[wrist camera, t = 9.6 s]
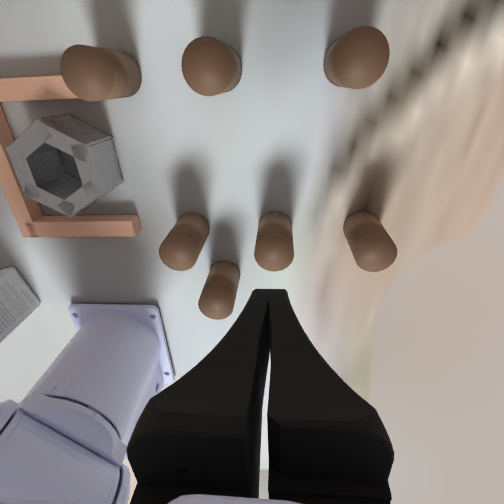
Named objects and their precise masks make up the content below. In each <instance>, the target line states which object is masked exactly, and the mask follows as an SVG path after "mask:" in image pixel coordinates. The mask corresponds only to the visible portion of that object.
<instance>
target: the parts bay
mask: <svg viewBox="0 0 504 504" xmlns="http://www.w3.org/2000/svg"><path fill="white" fill-rule="evenodd" d="M72 98H78V97H77V96H75V95H74V94H73V93H72V92H71V91H70V90H69V88H68V87H67V86H66V84H65V82H64V80H63V77H62V75H58V76H40V77H22V78H3V79H0V102H10V101H30V100H51V99H72ZM13 142H14V138H13V136H12V133H11V131H10V128H9V125H8V123H7V120H6V118H5V115H4V112H3V110H2V107H1V105H0V184H1V186H2V189H3V191H4V193H5V196H6V198H7V200H8V203H9V205H10V207H11V209H12V212H13V214H14V216H15V219H16V221H17V223H18V226H19V228H20V230H21V232H22V235H23V237H135V236H136V235H137V234H138V233H139V232H140V231H141V226H140V221H139V217H138V215H76V216H74V217H73V218H71V217H70V218H69V217H68V216H67V215H64V216H43V213H42V211H41V208H40V206H39V203H38V202H37V201H34V200H32V199H30V198H26V197H25V196H24V192H23V189H22V187H21V184H20V182H19V179H18V177H17V174H16V172H15V169H14V167H13V164H12V162H11V159H10V157H9V154H8V152H7V151H6V150H5V149H6V147H7V146H10V145H11V144H12V143H13Z"/></svg>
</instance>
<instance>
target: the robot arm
mask: <svg viewBox="0 0 504 504" xmlns="http://www.w3.org/2000/svg"><path fill="white" fill-rule="evenodd" d="M68 311H69V313H70V315H71V318H72V320H73V323H74V325H75V328H76V330H77V333H76V334H75V335H74V337H73V338H72V339H71V340H70V342H69V343H68V344H67V345H66V347H65V348H64V349H63V350H62V352H61V353H60V354H59V355H58V357H57V358H56V359H55V360H54V362H53V363H52V364H51V365H50V367H49V368H48V369H47V370H46V372H45V373H44V374H43V375H42V376H41V378H40V379H39V380H38V381H37V383H36V384H35V385H34V386H33V388H32V389H31V390H30V391H29V393H28V394H27V395H26V396H25V398H24V399H23V400H22V401H21V402H20V403H19V404H18V403H16V402H14V401H13V400H10V399H9V400H7V401H5V402H1V403H0V504H127V503H128V499H129V493H130V472H129V469H128V468H127V466H125V465H124V464H122V463H123V461H124V460H126V459H127V458H128V460H129V462H130V465H131V467H132V470H133V472H134V474H135V477H136V479H137V485H136V488H135V491H134V494H133V496H132V499H131V502H130V504H390V501H391V499H392V498H391V492H390V488H389V484H388V478H389V474H390V471H391V468H392V464H393V461H394V451H393V447H392V444H391V441H390V438H389V436H388V434H387V431H386V429H385V427H384V425H383V423H382V421H381V419H380V417H379V415H378V413H377V411H376V410H375V408H374V407H372V406H371V405H370V404H369V403H368V402H366V401H365V400H364V399H363V398H361V397H360V396H359V395H358V394H357V393H356V392H354V391H353V390H352V389H351V388H350V387H349V386H348V385H347V384H346V383H345V382H344V381H343V380H342V379H341V378H340V377H339V376H338V375H337V373H336V372H335V371H334V370H333V369H332V368H331V367H330V366H329V365H328V364H327V362H326V361H325V360H324V359H323V358H322V356H321V355H320V354H319V352H318V351H317V350H316V348H315V347H314V346H313V344H312V343H311V341H310V340H309V338H308V337H307V335H306V333H305V332H304V330H303V328H302V326H301V325H300V323H299V321H298V319H297V317H296V315H295V313H294V311H293V308H292V306H291V303H290V301H289V298H288V293H287V291H286V290H285V289H255V290H253V291H252V294H251V296H250V298H249V300H248V302H247V304H246V306H245V307H244V309H243V311H242V312H241V314H240V315H239V317H238V318H237V320H236V321H235V323H234V324H233V326H232V327H231V328H230V330H229V331H228V332H227V334H226V335H225V336H224V337H223V338H222V340H221V341H220V342H219V343H218V344H217V345H216V346H215V347H214V349H213V350H212V351H211V352H210V353H209V354H208V355H207V356H206V357H205V358H204V359H203V360H201V361H200V362H199V363H198V364H197V365H196V366H195V367H194V368H192V369H191V370H190V371H189V372H187V373H186V374H185V375H184V376H182V377H181V378H180V379H179V380H177V381H176V382H175V383H173V382H174V380H175V377H174V373H173V369H172V364H171V360H170V356H169V352H168V347H167V343H166V339H165V335H164V330H163V326H162V322H161V318H160V313H159V309H158V308H157V307H156V306H154V305H125V304H71V305H70V306H69V308H68ZM152 314H153V315H155V316H153V315H152ZM269 353H270V356H271V372H270V387H269V400H268V412H267V421H268V449H269V477H268V492H269V499H259V473H260V447H261V424H262V406H263V396H264V389H265V382H266V375H267V368H268V360H269ZM172 383H173V384H172ZM163 384H172V385H170V386H169V387H167V388H166V389H164V390H163V391H161V389H162V387H163Z"/></svg>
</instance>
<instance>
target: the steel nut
mask: <svg viewBox="0 0 504 504" xmlns="http://www.w3.org/2000/svg"><path fill="white" fill-rule="evenodd" d="M58 149H59V150H61V151H63V152H65V153H67V154H69V155H71V156H73V157H74V159H75V162H76V165H77V168H78V172H79V175H80V178H81V181H82V182H81V181H79V180H77V179H75V178H73V177H71V176H69V175H67V174H66V173H65V170H64V167H63V164H62V161H61V158H60V155H59V152H58ZM5 150H6V151H7V152H8V154H9V157H10V159H11V162H12V164H13V167H14V169H15V172H16V174H17V177H18V179H19V182H20V184H21V187H22V189H23V192H24V196H25V197H26V198H30V199H32V200H34V201H37V202H39V203H41V204H43V205H45V206H47V207H49V208H52V209H54V210H56V211H58V212H60V213H62V214H64V215H67V216H68V217H69V218H70V217H71V218H73V217H74V216H76V215H77V214H79V213H80V212H81V211H83V210H84V209H86V208H87V207H89V206H90V205H92V204H93V203H95V202H96V200H97V199H98V198H100V197H102V196H103V195H105V194H106V193H108V192H109V191H111V190H112V189H114V188H115V187H117V186H118V185H120V184H121V183H123V179H122V176H121V172H120V168H119V164H118V160H117V156H116V152H115V148H114V144H113V138H112V136H109V135H107V134H105V133H103V132H101V131H99V130H97V129H95V128H93V127H91V126H89V125H87V124H85V123H83V122H82V121H80V120H78V119H76V118H74V117H72V116H71V115H70V114H64V115H58V116H52V117H47V118H41V119H35V123H34V124H33V125H32V126H30V127H29V128H28V129H27V130H26V131H25V132H24V133H23V134H22V135H21V136H20V137H18V138H17V139H16V140H15V141H14V142H13V143H12V144H11V145H10V146H7V147H6V149H5Z"/></svg>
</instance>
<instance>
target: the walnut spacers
mask: <svg viewBox="0 0 504 504" xmlns="http://www.w3.org/2000/svg"><path fill="white" fill-rule="evenodd" d="M388 61H389V45H388V41H387V39H386V37H385V36H384V34H383V33H382V32H381V31H379V30H378V29H376V28H374V27H370V26H362V27H358V28H355V29H353V30H352V31H350V32H348V33H347V34H345V35H344V36H342V37H341V38H339V39H338V40H336V41H335V42H334V43H333V44H332V45H331V46H330V47H329V49H328V50H327V52H326V55H325V58H324V72H325V75H326V77H327V79H328V80H329V81H330V82H331V83H332V84H334V85H336V86H340V87H346V88H352V89H362V88H366V87H368V86H370V85H372V84H373V83H375V82H376V81H377V80H378V79H379V78H380V77H381V76H382V74H383V73H384V71H385V69H386V67H387V64H388ZM182 72H183V76H184V78H185V80H186V82H187V84H188V85H189V86H190V87H191V89H193V90H194V91H195V92H197V93H198V94H201V95H204V96H214V95H217V94H221V93H225V92H228V91H230V90H232V89H233V88H235V87H236V86H237V84H238V83H239V81H240V78H241V75H242V65H241V61H240V58H239V56H238V55H237V53H236V52H235V51H234V50H233V49H232V48H231V47H229V46H227V45H225V44H224V43H222V42H220V41H218V40H217V39H215V38H212V37H199V38H196V39H194V40H193V41H192V42H190V43H189V44H188V46H187V47H186V49H185V51H184V53H183V57H182ZM61 74H62V77H63V80H64V82H65V84H66V86H67V87H68V88H69V90H70V91H71V92H72V93H73V94H74V95H75V96H77V97H78V98H80V99H82V100H85V101H91V102H93V101H100V100H108V99H116V98H123V97H130V96H132V95H134V94H135V93H136V92H137V91H138V90H139V88H140V85H141V71H140V68H139V66H138V64H137V62H136V61H135V60H134V59H133V58H132V57H131V56H130V55H129V54H127V53H125V52H122V51H117V50H111V49H104V48H98V47H92V46H86V45H73V46H71V47H69V48H68V49H67V50H66V51H65V52H64V54H63V56H62V58H61ZM343 229H344V234H345V236H346V239H347V241H348V244H349V246H350V249H351V251H352V254H353V256H354V259H355V261H356V263H357V265H358V266H359V267H360V268H361V269H363V270H365V271H369V272H377V271H381V270H384V269H386V268H388V267H389V266H390V265H391V264H392V263H393V262H394V260H395V259H396V256H397V248H396V245H395V244H394V242H393V241H392V239H391V238H390V236H389V235H388V233H387V232H386V230H385V229H384V227H383V226H382V224H381V223H380V221H379V220H378V218H377V217H376V216H375V215H374V214H373V213H371V212H369V211H358V212H355V213H353V214H351V215H350V216H349V217H348V218H347V219H346V221H345V223H344V227H343ZM209 231H210V228H209V224H208V222H207V220H206V219H205V218H204V217H203V216H201V215H199V214H196V213H187V214H184V215H183V216H181V217H180V219H179V220H178V221H177V223H176V224H175V226H174V227H173V228H172V230H171V231H170V233H169V234H168V235H167V237H166V238H165V239H164V241H163V242H162V244H161V245H160V248H159V255H160V258H161V260H162V261H163V263H164V264H165V265H166V266H168V267H169V268H171V269H174V270H178V271H184V270H188V269H190V268H191V267H193V266H194V264H195V263H196V261H197V258H198V256H199V254H200V252H201V250H202V248H203V245H204V243H205V241H206V239H207V237H208V235H209ZM254 256H255V260H256V262H257V263H258V264H259V266H261V267H262V268H264V269H266V270H268V271H280V270H283V269H285V268H287V267H288V266H289V265H290V264H291V262H292V260H293V257H294V249H293V234H292V223H291V221H290V219H289V218H288V217H287V216H286V215H285V214H283V213H280V212H270V213H268V214H266V215H264V216H263V217H262V218H261V220H260V222H259V226H258V232H257V239H256V245H255V252H254ZM239 279H240V272H239V269H238V268H237V266H236V265H234V264H233V263H231V262H228V261H219V262H217V263H215V264H214V265H213V266H212V267H211V269H210V272H209V274H208V277H207V280H206V283H205V285H204V288H203V291H202V293H201V296H200V299H199V302H198V306H199V309H200V311H201V312H202V313H203V314H204V315H205V316H207V317H209V318H211V319H224V318H226V317H228V316H229V315H230V314H231V313H232V311H233V307H234V302H235V298H236V293H237V288H238V283H239Z"/></svg>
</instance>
